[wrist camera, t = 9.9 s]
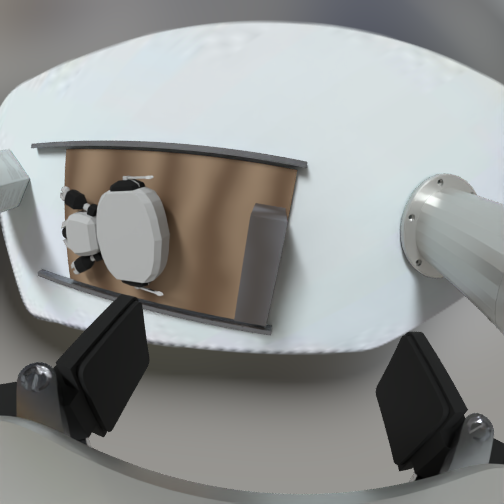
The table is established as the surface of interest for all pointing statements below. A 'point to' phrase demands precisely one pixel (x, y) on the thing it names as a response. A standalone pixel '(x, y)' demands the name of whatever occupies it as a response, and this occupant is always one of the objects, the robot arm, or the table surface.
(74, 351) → the robot arm
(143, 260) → the robot toy
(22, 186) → the skincare box
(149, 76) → the table surface
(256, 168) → the brown rectangular mat
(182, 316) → the guide rails
